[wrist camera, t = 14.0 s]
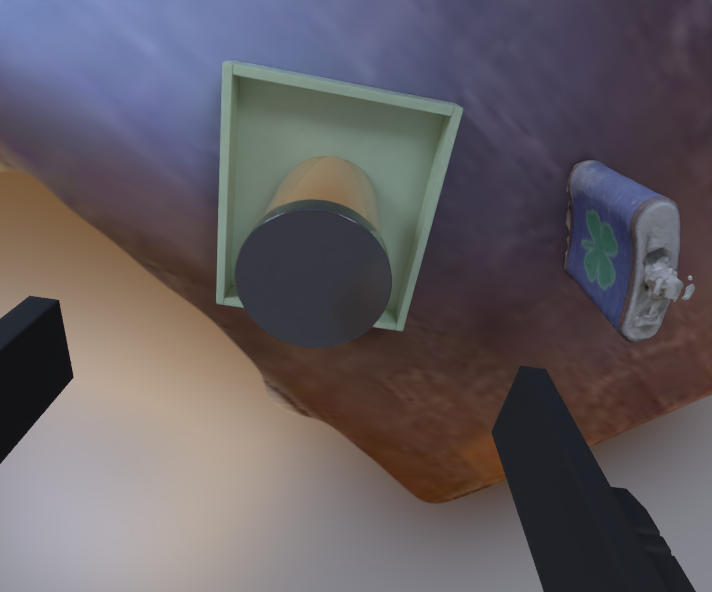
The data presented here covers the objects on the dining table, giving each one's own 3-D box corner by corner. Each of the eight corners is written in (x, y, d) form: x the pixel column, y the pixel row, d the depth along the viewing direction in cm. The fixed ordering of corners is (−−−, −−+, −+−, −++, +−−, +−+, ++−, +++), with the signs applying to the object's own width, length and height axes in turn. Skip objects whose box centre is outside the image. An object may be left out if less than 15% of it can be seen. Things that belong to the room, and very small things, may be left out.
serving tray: (456, 103, 29) (464, 108, 27) (400, 314, 37) (402, 331, 34) (232, 59, 28) (222, 61, 25) (224, 287, 35) (215, 303, 33)
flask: (566, 161, 31) (658, 216, 21) (610, 153, 30) (724, 204, 21) (561, 280, 35) (636, 367, 26) (599, 273, 35) (689, 359, 26)
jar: (391, 163, 30) (408, 224, 20) (369, 264, 34) (375, 357, 24) (278, 143, 30) (238, 195, 20) (268, 248, 33) (231, 337, 23)
